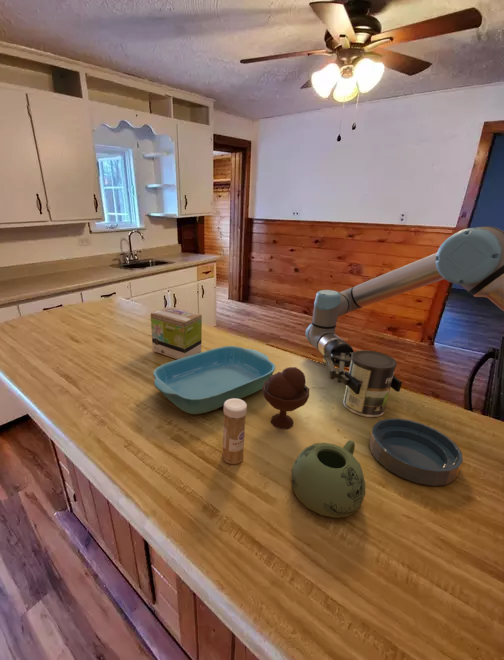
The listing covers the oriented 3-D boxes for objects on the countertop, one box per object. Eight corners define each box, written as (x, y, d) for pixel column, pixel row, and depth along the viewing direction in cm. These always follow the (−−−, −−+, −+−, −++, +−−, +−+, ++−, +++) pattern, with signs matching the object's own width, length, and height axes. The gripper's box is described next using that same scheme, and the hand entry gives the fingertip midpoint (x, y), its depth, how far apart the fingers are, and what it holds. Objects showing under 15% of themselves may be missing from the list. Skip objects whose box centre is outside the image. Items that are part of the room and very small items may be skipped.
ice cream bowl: (288, 405, 89) (294, 354, 83) (314, 431, 79) (322, 375, 74) (252, 412, 86) (256, 360, 80) (274, 440, 76) (280, 383, 71)
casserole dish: (236, 358, 115) (237, 339, 112) (287, 385, 99) (290, 363, 96) (139, 392, 94) (137, 370, 92) (183, 434, 78) (183, 408, 75)
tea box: (151, 352, 119) (149, 312, 114) (169, 342, 127) (168, 305, 121) (185, 363, 111) (184, 321, 106) (202, 352, 119) (202, 313, 113)
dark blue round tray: (437, 438, 77) (442, 424, 76) (472, 494, 63) (479, 477, 61) (362, 427, 81) (365, 414, 79) (378, 478, 66) (383, 462, 65)
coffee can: (387, 403, 91) (399, 356, 85) (381, 422, 83) (394, 372, 77) (346, 391, 96) (355, 346, 90) (338, 409, 88) (347, 360, 82)
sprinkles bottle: (238, 468, 68) (241, 413, 63) (218, 460, 70) (219, 406, 65) (246, 454, 72) (250, 401, 67) (227, 447, 74) (229, 395, 69)
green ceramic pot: (341, 538, 54) (350, 499, 51) (275, 491, 63) (279, 454, 60) (380, 486, 64) (390, 450, 61) (319, 451, 73) (325, 418, 70)
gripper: (367, 359, 105) (417, 398, 85) (298, 362, 103) (333, 403, 82) (372, 337, 102) (425, 372, 82) (301, 340, 100) (338, 377, 79)
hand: (379, 388), depth 82 cm, fingers closed on coffee can, 10 cm apart
